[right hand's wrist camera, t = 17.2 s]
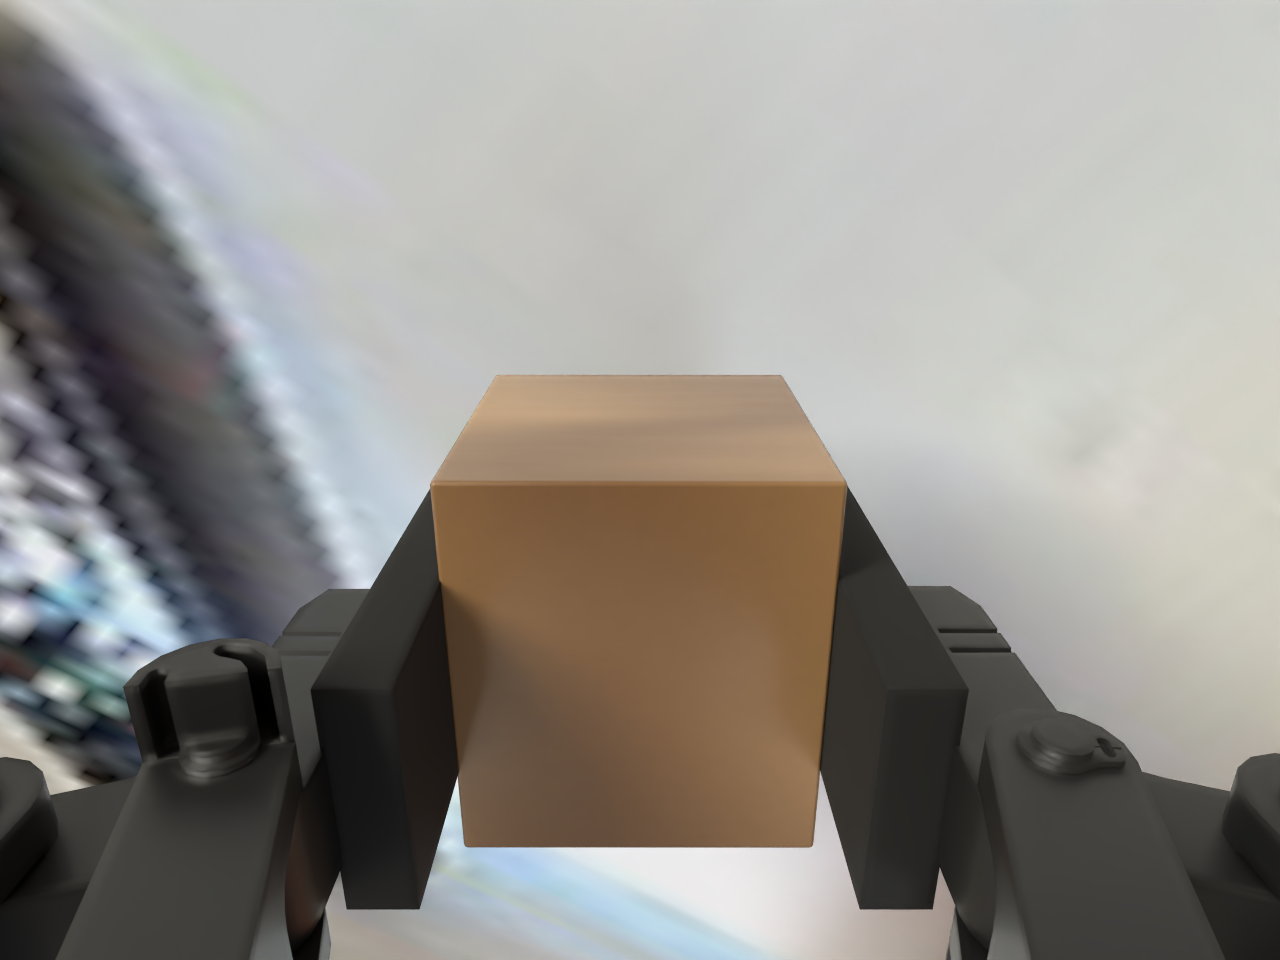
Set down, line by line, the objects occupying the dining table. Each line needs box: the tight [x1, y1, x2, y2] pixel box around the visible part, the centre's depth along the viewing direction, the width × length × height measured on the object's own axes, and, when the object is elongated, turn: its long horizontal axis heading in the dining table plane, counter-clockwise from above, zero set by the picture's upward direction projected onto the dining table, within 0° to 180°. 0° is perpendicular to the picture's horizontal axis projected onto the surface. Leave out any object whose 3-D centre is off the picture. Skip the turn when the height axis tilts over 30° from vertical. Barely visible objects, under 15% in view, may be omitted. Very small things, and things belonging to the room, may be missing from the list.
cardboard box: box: [430, 375, 847, 847], centre depth 13 cm, size 5×5×5 cm
